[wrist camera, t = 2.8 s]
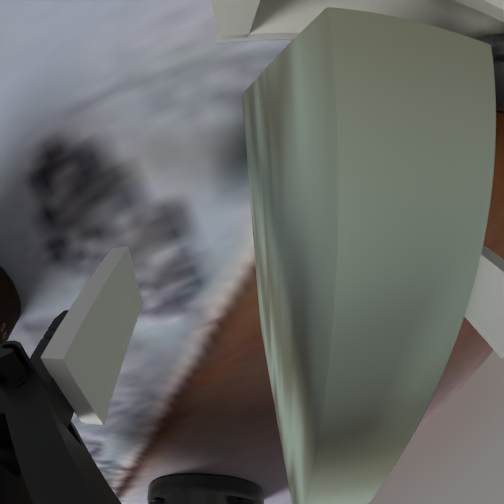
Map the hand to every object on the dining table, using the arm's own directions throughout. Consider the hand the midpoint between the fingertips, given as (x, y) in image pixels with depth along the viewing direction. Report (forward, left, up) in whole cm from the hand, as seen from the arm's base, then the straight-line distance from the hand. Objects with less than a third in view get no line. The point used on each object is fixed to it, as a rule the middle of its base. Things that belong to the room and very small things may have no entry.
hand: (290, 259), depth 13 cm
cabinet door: (0, 0, -5) cm, 5 cm away
